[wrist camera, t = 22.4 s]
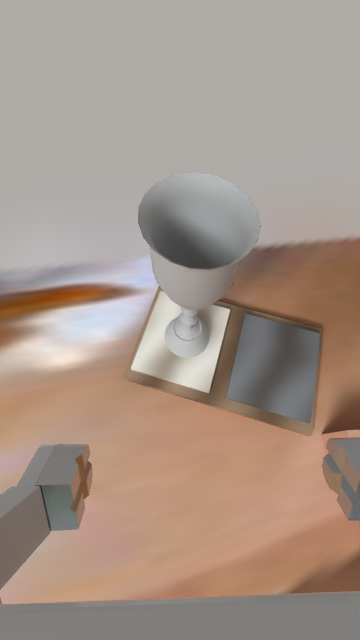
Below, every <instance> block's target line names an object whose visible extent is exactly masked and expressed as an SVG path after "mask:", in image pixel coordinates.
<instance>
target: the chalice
mask: <svg viewBox="0 0 360 640" xmlns="http://www.w3.org/2000/svg"><path fill="white" fill-rule="evenodd" d="M138 224H139V226H140V229H141V232H142V235H143V238H144V239H145V240H146V241H147V243H148V244H149V245H150V250H151V259H152V268H153V273H154V276H155V279H156V282H157V283H158V285H159V286H160V287H161V288H162V290H163V291H164V292H165V294H166V295H167V296H168V297H169V299H170V300H172V301H173V302H174V303H176V304H177V305H178V306H180V307H181V310H182V312H181V314H180V316H178V317H177V318H175V319H174V320H172V321H171V322H170V323H169V324H168V326H167V328H166V330H165V342H166V345H167V347H168V348H169V349H170V351H171V352H173V353H174V354H176V355H177V356H180V357H184V358H191V357H195V356H198V355H199V354H201V353H202V352H203V351H204V350H205V349H206V347H207V346H208V343H209V331H208V329H207V326H206V325H205V324H204V323H203V322H202V321H201V320H200V319H199V318H198V316H197V313H198V309H202V308H206V307H209V306H210V305H212V304H213V303H215V302H216V301H218V300H219V299H221V298H222V297H223V296H225V295H226V294H227V292H228V291H229V290H230V288H231V287H232V285H233V283H234V280H235V277H236V274H237V271H238V268H239V265H240V262H241V259H242V258H244V257H246V256H247V255H248V254H249V253H250V251H251V250H252V248H253V247H254V246H255V244H256V243H257V241H258V236H259V231H260V227H261V226H260V221H259V215H258V211H257V209H256V208H255V206H254V204H253V203H252V201H251V199H250V198H249V197H248V196H247V195H246V194H245V193H244V192H243V191H242V190H241V189H240V188H239V187H238V186H236V185H234V184H232V183H230V182H228V181H227V180H225V179H223V178H220V177H216V176H213V175H209V174H205V173H183V174H178V175H173V176H169V177H167V178H166V179H163V180H161V181H159V182H158V183H156V184H155V185H154V186H153V187H152V188H151V189H150V190H148V192H146V193H145V195H144V197H143V199H142V201H141V204H140V206H139V212H138Z"/></svg>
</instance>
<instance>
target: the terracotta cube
mask: <svg viewBox="0 0 360 640" xmlns="http://www.w3.org/2000/svg"><path fill="white" fill-rule="evenodd" d="M321 435H322V440H323V444H324V448H325V453H326V455H327V454H328V453H329V452H328V450H327V449H326V444H327V441H328V440H329V438H351V437H360V430H345V431H339V432H333V433H327V434H321Z"/></svg>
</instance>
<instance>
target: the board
mask: <svg viewBox="0 0 360 640" xmlns="http://www.w3.org/2000/svg"><path fill="white" fill-rule="evenodd" d="M181 312H182V310H181V307H180V306H178V305H177V304H176V303H174V302H173V301H172V300H170V299H169V297H168V296H167V295H166V294H165V292H164V291H163V290H162V288H161V287H160V286H159V287H158V290H157V292H156V295H155V298H154V300H153V303H152V305H151V308H150V311H149V313H148V316H147V318H146V321H145V324H144V326H143V329H142V331H141V334H140V337H139V339H138V342H137V344H136V347H135V350H134V352H133V355H132V357H131V360H130V362H129V365H128V368H127V370H126V373H125V375H124V378H125V380H128V381H132V382H135V383H138V384H141V385H145V386H148V387H151V388H154V389H158V390H161V391H164V392H167V393H171V394H174V395H177V396H180V397H184V398H187V399H190V400H193V401H197V402H200V403H203V404H206V405H210V406H213V407H216V408H219V409H223V410H226V411H229V412H232V413H236V414H239V415H242V416H245V417H249V418H252V419H255V420H258V421H262V422H265V423H268V424H272V425H275V426H278V427H281V428H285V429H288V430H291V431H294V432H298V433H301V434H304V435H307V436H309V435H312V432H313V422H314V412H315V402H316V392H317V382H318V372H319V362H320V352H321V343H322V333H323V329H321V328H317V327H313V326H310V325H306V324H302V323H298V322H295V321H291V320H287V319H283V318H280V317H276V316H272V315H268V314H265V313H261V312H257V311H253V310H250V309H246V308H242V307H238V306H235V305H231V304H227V303H223V302H220V301H216V302H215V303H213V304H212V305H210V306H209V307H206V308H202V309H198V313H197V316H198V318H199V319H200V320H201V321H202V322H203V323H204V324H205V325H206V326H207V329H208V331H209V343H208V346H207V347H206V349H205V350H204V351H203V352H202V353H201V354H199V355H198V356H195V357H191V358H184V357H180V356H177V355H176V354H174V353H173V352H171V351H170V349H169V348H168V347H167V345H166V342H165V330H166V328H167V326H168V324H169V323H170V322H171V321H172V320H174V319H175V318H177V317H178V316H180V314H181Z"/></svg>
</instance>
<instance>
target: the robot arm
mask: <svg viewBox="0 0 360 640" xmlns="http://www.w3.org/2000/svg"><path fill="white" fill-rule="evenodd" d="M326 449H327V450H328V452H329V453H328V454H327V455H326V456H325V457H324V458H323V464H322V467H323V474H324V477H325V480H326V482H327V484H328V486H329V488H330V489H332V490H333V491H334V492H336V493H337V494H338V498H337V501H338V503H339V505H340V507H341V508H342V510H343V512H344V513H345V515H346V517H347V519H348V520H349V521H360V437H351V438H329V440H328V441H327V444H326ZM89 455H90V450H89V446H88V445H87V444H58V445H42V446H40V447H39V448H38V450H37V452H36V453H35V455H34V457H33V459H32V460H31V462H30V464H29V466H28V467H27V469H26V471H25V473H24V474H23V476H22V478H21V480H20V481H19V483H18V485H17V487H11V488H9V489H8V490H7V491H5V492H4V493H3V494H1V495H0V590H1V588H2V587H3V586H4V585H5V584H6V583H7V582H8V580H9V579H10V578H11V577H12V576H13V575H14V574H15V572H16V571H17V570H18V569H19V568H20V567H21V566H22V564H23V563H24V562H25V561H26V560H27V559H28V558H29V556H30V555H31V554H32V553H33V552H34V551H35V550H36V548H37V547H38V546H39V545H40V544H41V543H42V542H43V540H44V539H45V538H46V537H47V536H48V535H49V534H50V531H56V530H72V529H79V526H80V523H81V519H82V516H83V513H84V509H85V506H84V499H85V498H86V497H87V496H88V495H89V492H90V489H91V483H92V464H91V463H90V462H89V461H88V458H89ZM0 640H360V591H353V592H330V593H329V592H326V593H300V594H274V595H247V596H221V597H193V598H166V599H139V600H112V601H85V602H58V603H32V604H5V605H2V602H1V599H0Z"/></svg>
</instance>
